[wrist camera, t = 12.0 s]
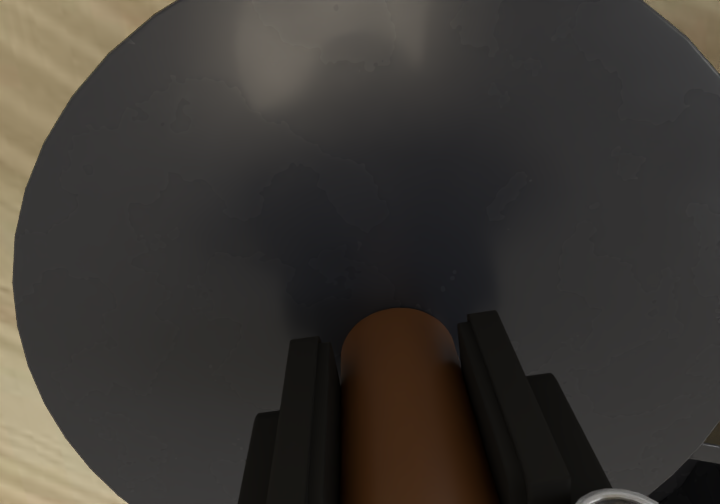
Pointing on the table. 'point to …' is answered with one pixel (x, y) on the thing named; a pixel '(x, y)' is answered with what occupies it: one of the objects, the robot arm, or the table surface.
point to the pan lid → (376, 237)
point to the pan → (695, 477)
